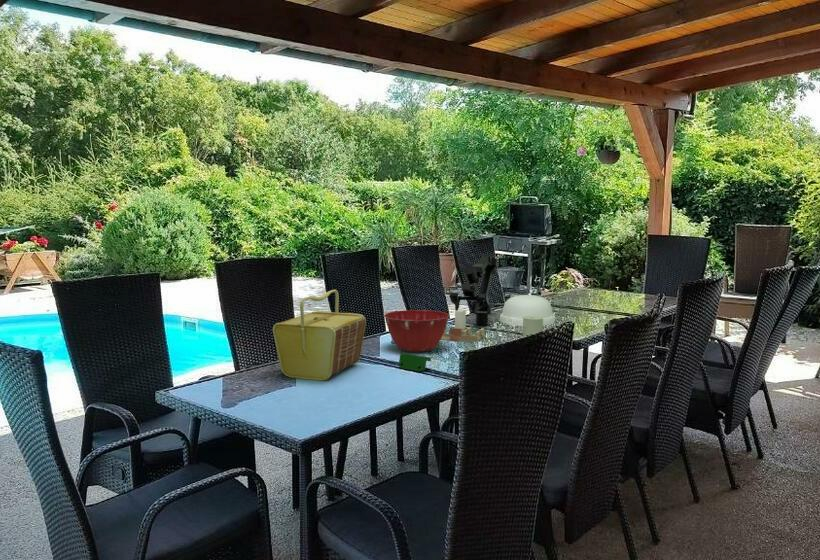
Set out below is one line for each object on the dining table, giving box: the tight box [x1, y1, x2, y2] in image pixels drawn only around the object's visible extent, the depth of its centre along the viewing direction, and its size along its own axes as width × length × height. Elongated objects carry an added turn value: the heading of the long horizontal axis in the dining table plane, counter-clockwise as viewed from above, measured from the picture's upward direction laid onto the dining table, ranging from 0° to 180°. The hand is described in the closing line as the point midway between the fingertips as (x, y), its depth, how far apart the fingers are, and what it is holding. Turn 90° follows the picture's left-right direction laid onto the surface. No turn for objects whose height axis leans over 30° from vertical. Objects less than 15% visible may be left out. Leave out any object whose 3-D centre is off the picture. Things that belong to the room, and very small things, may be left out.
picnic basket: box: [272, 289, 367, 381], centre depth 238 cm, size 29×26×30 cm
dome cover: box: [499, 294, 556, 327], centre depth 339 cm, size 32×30×14 cm
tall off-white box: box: [454, 309, 467, 331], centre depth 296 cm, size 5×4×13 cm
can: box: [522, 316, 544, 337], centre depth 287 cm, size 9×9×12 cm
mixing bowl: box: [383, 309, 450, 353], centre depth 275 cm, size 28×28×16 cm
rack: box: [440, 326, 485, 343], centre depth 296 cm, size 13×20×6 cm, turn 67°
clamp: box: [398, 352, 432, 372], centre depth 242 cm, size 12×6×9 cm, turn 48°
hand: (465, 312), depth 302 cm, fingers open, 9 cm apart
